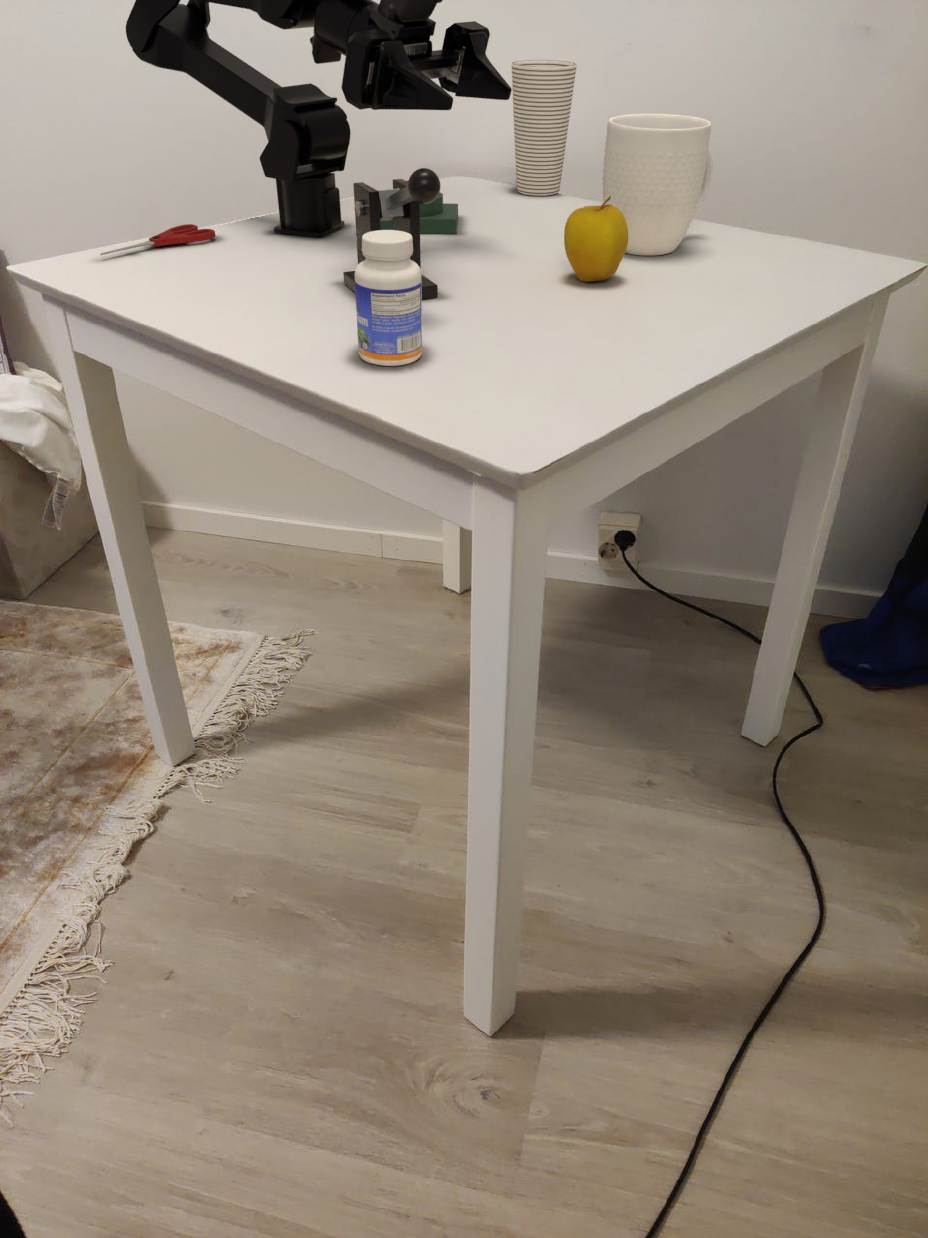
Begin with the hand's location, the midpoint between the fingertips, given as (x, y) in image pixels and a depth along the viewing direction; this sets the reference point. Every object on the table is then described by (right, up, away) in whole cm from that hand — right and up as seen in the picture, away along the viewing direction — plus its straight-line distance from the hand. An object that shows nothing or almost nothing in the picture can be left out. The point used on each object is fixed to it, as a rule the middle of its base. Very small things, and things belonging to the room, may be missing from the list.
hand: (481, 99), depth 92 cm
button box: (-8, -2, +25) cm, 26 cm away
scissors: (-37, -8, +16) cm, 41 cm away
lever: (-7, -13, -6) cm, 16 cm away
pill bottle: (-8, -28, -12) cm, 32 cm away
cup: (+9, +9, +41) cm, 42 cm away
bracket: (-9, -18, +3) cm, 20 cm away
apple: (+12, -15, +7) cm, 20 cm away
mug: (+20, -8, +17) cm, 27 cm away
